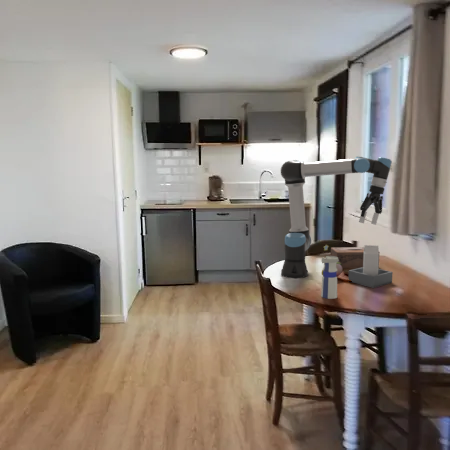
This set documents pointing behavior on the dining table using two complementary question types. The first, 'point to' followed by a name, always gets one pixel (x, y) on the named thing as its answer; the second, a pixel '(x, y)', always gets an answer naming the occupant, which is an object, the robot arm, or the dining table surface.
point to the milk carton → (371, 260)
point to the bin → (370, 277)
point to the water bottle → (329, 277)
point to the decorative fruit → (338, 269)
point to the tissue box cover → (349, 256)
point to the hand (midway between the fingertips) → (367, 223)
